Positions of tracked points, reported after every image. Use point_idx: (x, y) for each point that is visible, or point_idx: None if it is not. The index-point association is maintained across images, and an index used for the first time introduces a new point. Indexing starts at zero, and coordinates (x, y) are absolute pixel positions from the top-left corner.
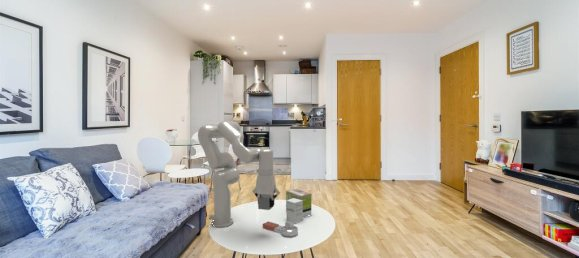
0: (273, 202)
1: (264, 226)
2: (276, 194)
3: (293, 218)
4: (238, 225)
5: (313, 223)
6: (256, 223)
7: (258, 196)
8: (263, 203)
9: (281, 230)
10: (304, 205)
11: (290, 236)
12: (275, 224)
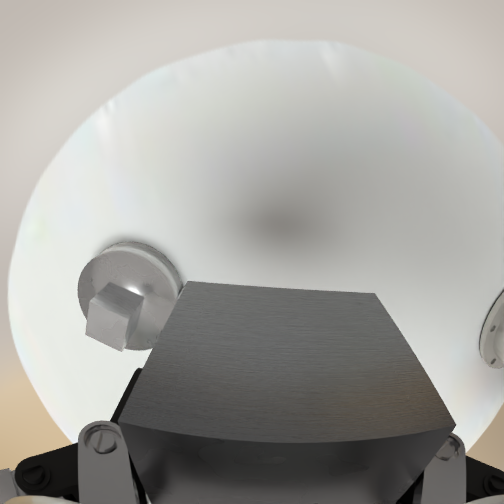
0: (122, 401)
1: None
2: (9, 494)
3: None
4: (455, 326)
5: (90, 409)
6: None
7: (443, 468)
8: (297, 345)
9: (163, 275)
10: None
11: (110, 246)
12: None
